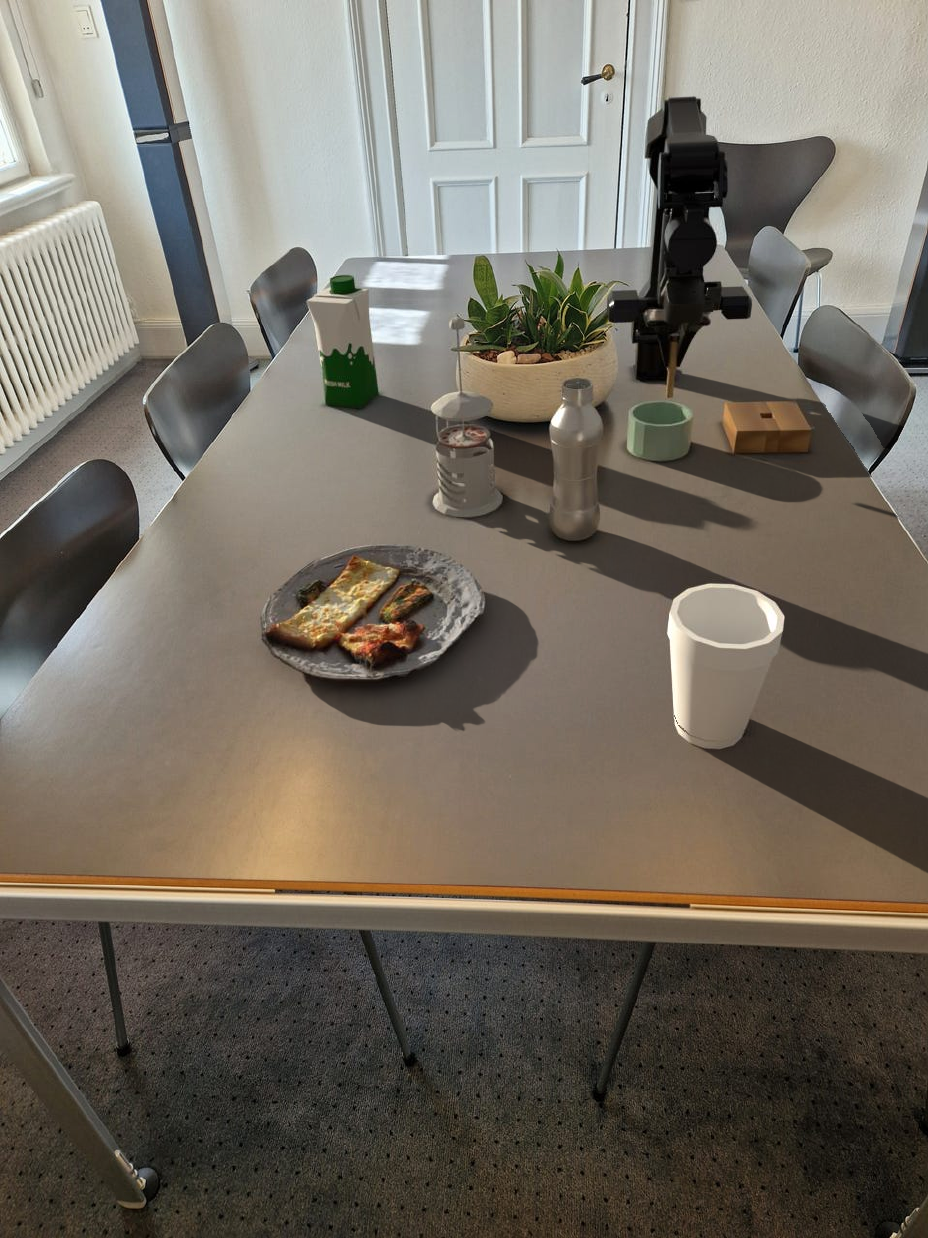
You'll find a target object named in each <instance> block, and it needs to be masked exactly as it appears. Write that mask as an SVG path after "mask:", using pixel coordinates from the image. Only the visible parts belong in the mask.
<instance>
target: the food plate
mask: <svg viewBox="0 0 928 1238" xmlns="http://www.w3.org/2000/svg"><path fill="white" fill-rule="evenodd" d="M485 608H486V596H485V593H484V591H483V587H482V586H481V584H480V583H479V582H478V580H477V579H476V578H475V577H474V575H473V574H472V572H471V571H470V569H468V568H467V567H466V566H464V565H463V564H462V563H460V562H459V561H456V560H455V559H454V558H452V556H451V555H450V556H447V555H446V554H443V553H441V552H439V551H435V550H431V549H425V548H422V547H418V546H415V545H412V544H384V543H383V544H382V543H381V544H380V543H379V544H368V545H362V546H353V547H351V548H347V549H343V550H339V551H336V552H335V553H333V554H330V555H328V556H324V557H321V558H318V559H315V560H312V561H311V562H309V563H308V564H307V565H305V566H304V567H302V568H301V569H300V570H299V571H297V572H296V573H295V574H293V575H292V576H291V578H289V579H288V580H287V581H286V582H284V583H283V584H282V586H280V587H279V588H278V589H277V590H275V591H274V592H273V595H272V596H269V598H268V599H267V601H266V602H265V603H264V605H263V607H262V610H261V614H260V627H261V641H262V643H263V644H264V645H265V646H266V647H267V649H268V651H269V653H270V655H271V656H273V658H275V659H277V660H279V661H280V662H281V663H282V664H284V665H286V666H288V667H289V668H292V669H293V670H295V671H297V672H300V673H301V674H303V675H305V676H306V677H308V678H312V679H316V680H319V681H320V680H321V681H325V682H338V683H339V682H362V683H371V684H373V683H376V682H379V681H382V682H384V681H388V680H391V679H392V682H395V678H394V677H393V676H395V677H396V678H402V677H403V678H404V677H406V676H407V675H408V674H409V673H410V672H411V671H413V670H417V671H418V672H419V671H422V670H424V669H426V668H427V667H429V666H430V665H431V664H433V663H434V662H436V661H437V660H438V659H441V657H440V656H442V655H443V654H444V653H445V652H446V651H447V650H449V648H450V647H452V646H453V644H454V643H456V642H457V641H458V640H459V639H460V637H461V635H462V634H463V633H464V632H465V631H466V630H467V629H468V628H470V627H471V625H472V623H473V622H474V621H475V619H476V618H477V617H479V616H480V615H483V614H484V612H485Z"/></svg>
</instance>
